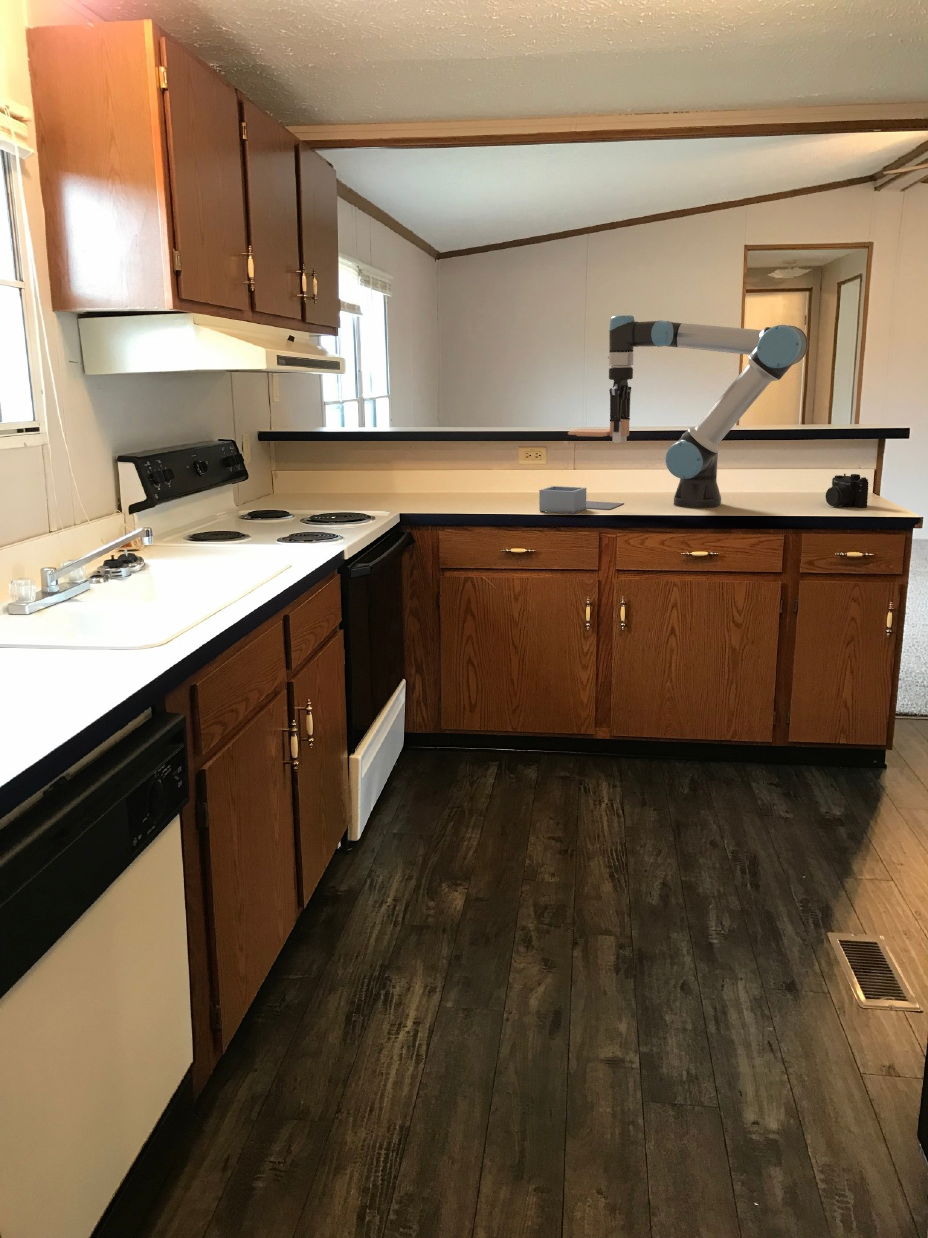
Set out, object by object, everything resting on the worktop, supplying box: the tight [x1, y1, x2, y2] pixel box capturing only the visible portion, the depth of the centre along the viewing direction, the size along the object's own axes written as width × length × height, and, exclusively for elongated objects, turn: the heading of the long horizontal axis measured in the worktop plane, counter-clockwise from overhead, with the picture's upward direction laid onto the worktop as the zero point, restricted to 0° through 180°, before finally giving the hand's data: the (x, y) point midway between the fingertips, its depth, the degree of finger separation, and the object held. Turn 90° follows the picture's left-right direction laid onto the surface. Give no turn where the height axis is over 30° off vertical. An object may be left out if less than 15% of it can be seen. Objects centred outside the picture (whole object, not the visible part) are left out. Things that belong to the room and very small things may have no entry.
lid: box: [567, 419, 630, 438], centre depth 320 cm, size 18×11×5 cm, turn 61°
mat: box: [586, 500, 625, 511], centre depth 328 cm, size 17×13×1 cm
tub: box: [538, 485, 587, 515], centre depth 318 cm, size 12×10×7 cm
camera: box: [825, 473, 869, 509], centre depth 315 cm, size 14×11×10 cm
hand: (619, 441), depth 318 cm, fingers closed on lid, 4 cm apart
